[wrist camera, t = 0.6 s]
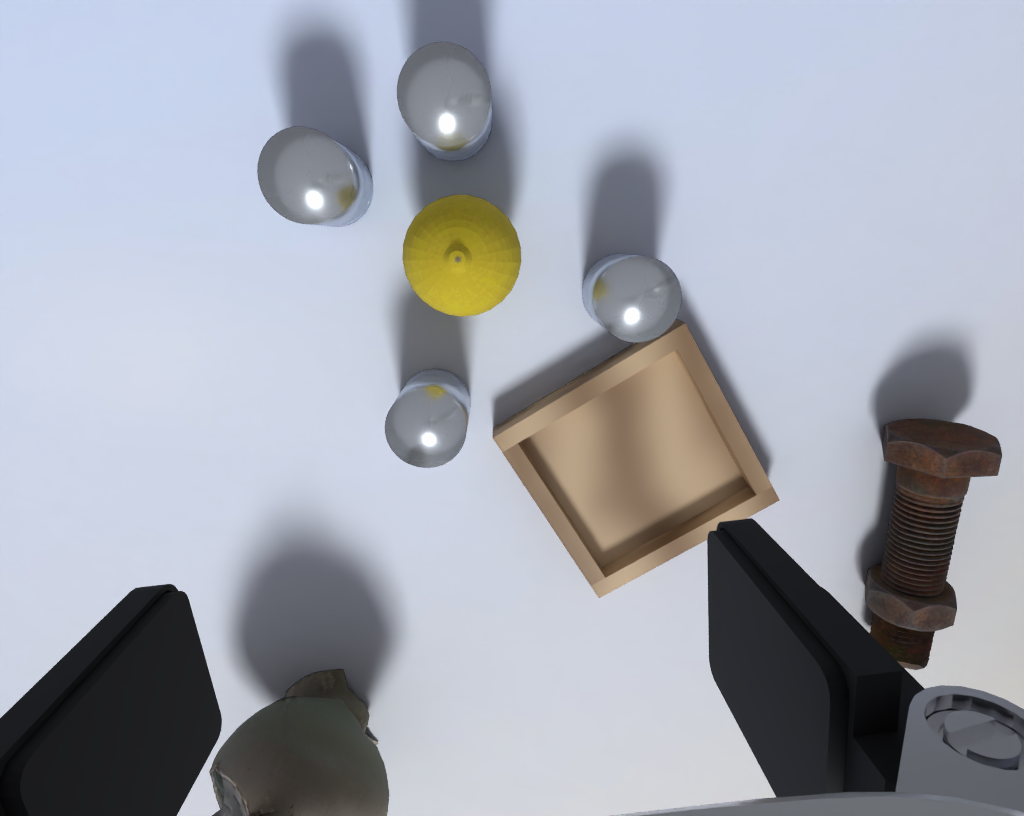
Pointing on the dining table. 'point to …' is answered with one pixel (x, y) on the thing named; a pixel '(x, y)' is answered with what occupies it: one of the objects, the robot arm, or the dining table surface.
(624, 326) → the cylinder
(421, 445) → the cylinder
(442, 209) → the lemon
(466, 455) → the dining table surface
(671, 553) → the tray
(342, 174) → the cylinder
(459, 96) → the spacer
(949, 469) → the bolt
